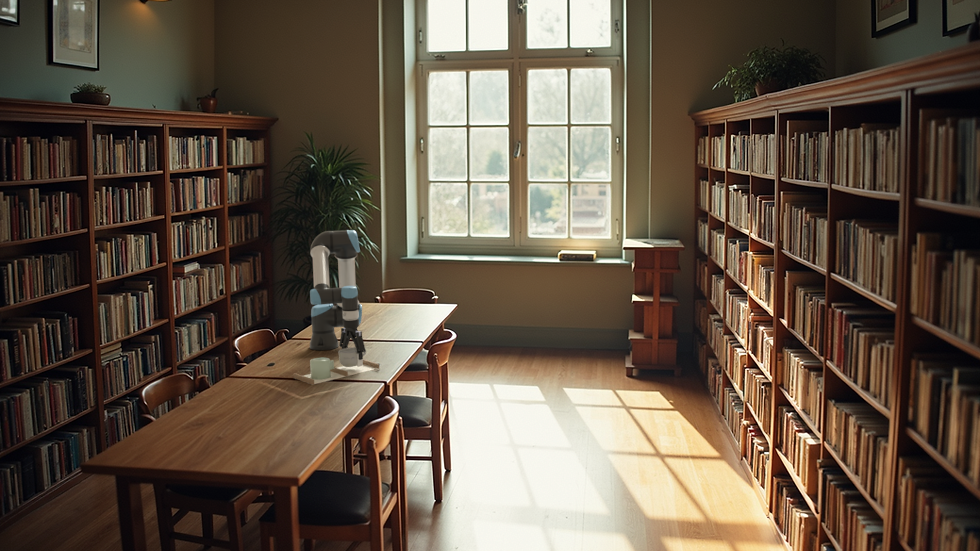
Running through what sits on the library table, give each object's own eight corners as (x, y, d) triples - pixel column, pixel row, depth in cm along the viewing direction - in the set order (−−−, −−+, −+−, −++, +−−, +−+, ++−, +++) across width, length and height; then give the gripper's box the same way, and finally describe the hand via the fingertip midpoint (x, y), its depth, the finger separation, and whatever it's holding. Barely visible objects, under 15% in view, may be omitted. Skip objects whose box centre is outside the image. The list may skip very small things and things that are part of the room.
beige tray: (293, 380, 387) (293, 373, 386) (360, 364, 412) (359, 358, 411) (312, 386, 375) (312, 380, 375) (379, 370, 400) (379, 363, 400)
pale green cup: (307, 377, 387) (306, 360, 386) (328, 372, 395) (327, 355, 394) (317, 380, 381) (316, 363, 380) (339, 375, 389) (338, 358, 388)
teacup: (343, 369, 391) (342, 353, 390) (335, 364, 400) (335, 348, 399) (371, 365, 397) (370, 349, 396) (363, 360, 407) (362, 344, 406)
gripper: (330, 316, 401) (332, 361, 405) (358, 323, 385) (360, 369, 388) (343, 314, 407) (345, 358, 410) (371, 320, 390) (373, 366, 393)
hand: (353, 364), depth 399 cm, fingers closed on teacup, 11 cm apart
